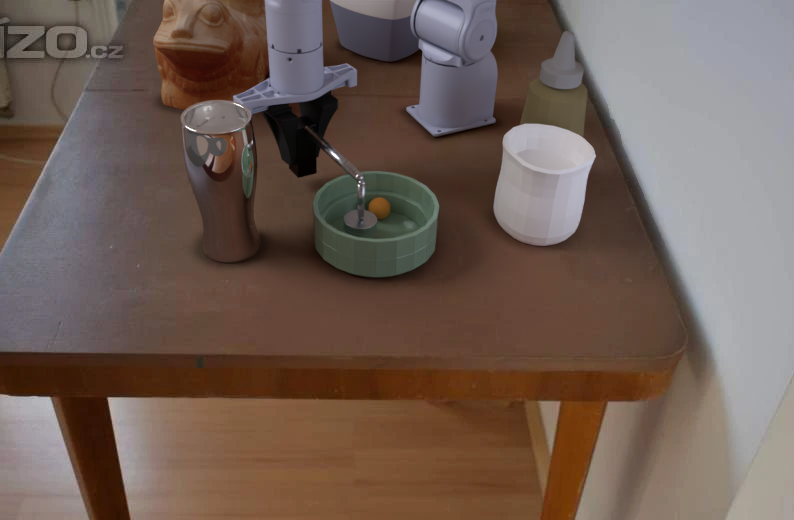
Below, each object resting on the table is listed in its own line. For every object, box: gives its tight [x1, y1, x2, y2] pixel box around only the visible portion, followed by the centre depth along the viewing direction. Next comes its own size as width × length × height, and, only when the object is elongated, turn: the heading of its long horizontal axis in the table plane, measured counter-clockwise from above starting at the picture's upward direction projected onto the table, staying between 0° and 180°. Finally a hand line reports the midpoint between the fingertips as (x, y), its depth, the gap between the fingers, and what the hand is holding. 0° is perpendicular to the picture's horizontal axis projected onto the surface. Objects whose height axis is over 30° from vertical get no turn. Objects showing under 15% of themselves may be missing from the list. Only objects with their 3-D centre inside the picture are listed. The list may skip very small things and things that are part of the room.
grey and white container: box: [329, 0, 420, 63], centre depth 124 cm, size 15×15×11 cm
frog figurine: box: [152, 0, 270, 111], centre depth 111 cm, size 14×26×15 cm, turn 171°
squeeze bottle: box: [519, 30, 589, 138], centre depth 95 cm, size 8×8×18 cm
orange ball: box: [369, 197, 390, 219], centre depth 92 cm, size 2×2×2 cm
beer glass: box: [179, 100, 261, 264], centre depth 84 cm, size 7×7×15 cm
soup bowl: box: [312, 170, 440, 278], centre depth 88 cm, size 13×13×5 cm
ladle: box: [288, 116, 377, 238], centre depth 91 cm, size 16×4×6 cm, turn 33°
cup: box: [492, 124, 597, 247], centre depth 91 cm, size 10×10×10 cm
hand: (300, 157), depth 96 cm, fingers closed on ladle, 2 cm apart
